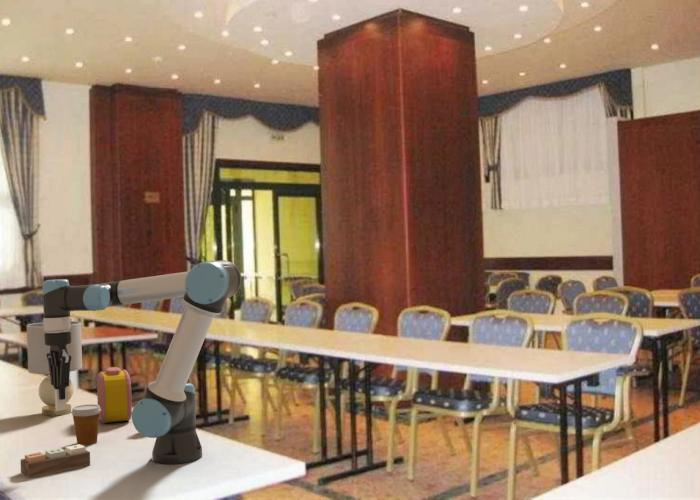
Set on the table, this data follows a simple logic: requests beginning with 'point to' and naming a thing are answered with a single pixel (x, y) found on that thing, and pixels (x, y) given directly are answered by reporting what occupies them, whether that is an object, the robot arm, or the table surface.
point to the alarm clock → (114, 395)
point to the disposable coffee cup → (86, 423)
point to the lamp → (40, 365)
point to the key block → (55, 464)
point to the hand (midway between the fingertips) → (61, 409)
